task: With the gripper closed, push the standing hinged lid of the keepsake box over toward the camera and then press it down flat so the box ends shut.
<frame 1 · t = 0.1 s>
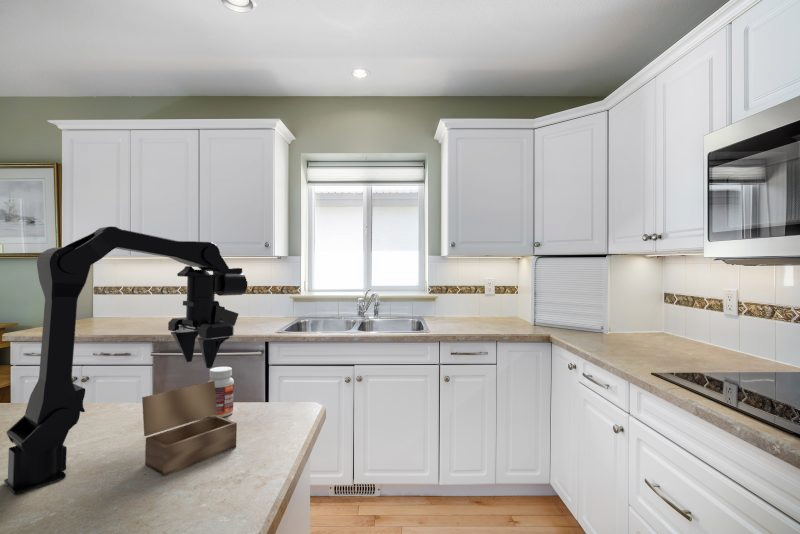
hand: (198, 364, 90), 14 cm above the countertop, fingers open, 9 cm apart
lid: (181, 406, 79), point 9 cm above the countertop, hinge at 100.0°
pill bottle: (219, 414, 99), on the countertop
box: (192, 455, 76), on the countertop
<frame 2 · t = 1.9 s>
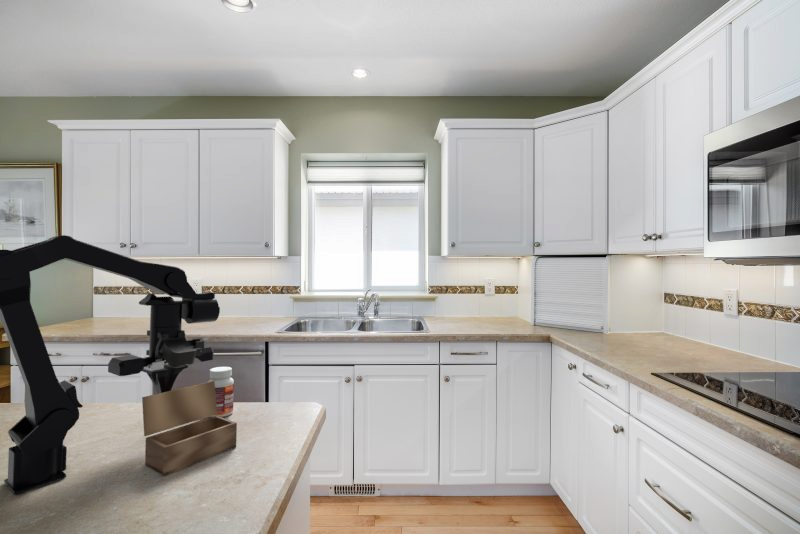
hand: (163, 400, 82), 9 cm above the countertop, fingers closed
nothing on the countertop moved.
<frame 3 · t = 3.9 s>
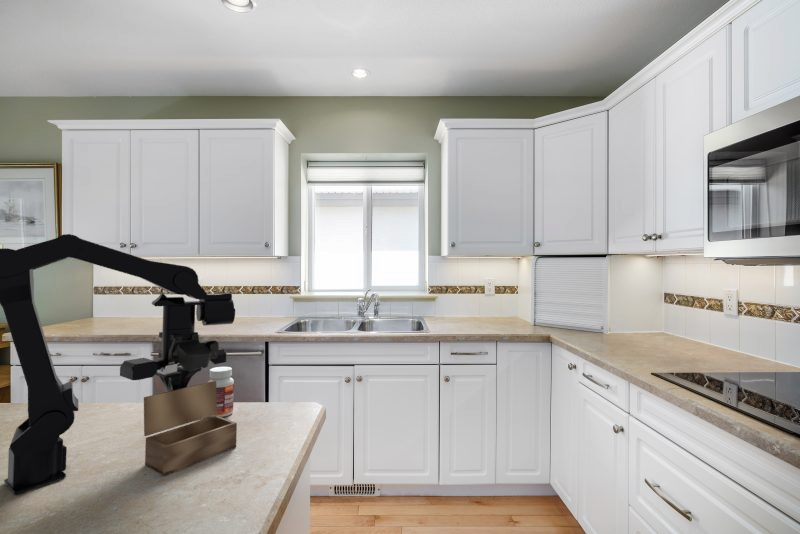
hand: (176, 403, 80), 9 cm above the countertop, fingers closed, pressing on lid
lid: (182, 406, 79), point 9 cm above the countertop, hinge at 94.8°, touching gripper
everything else where it was.
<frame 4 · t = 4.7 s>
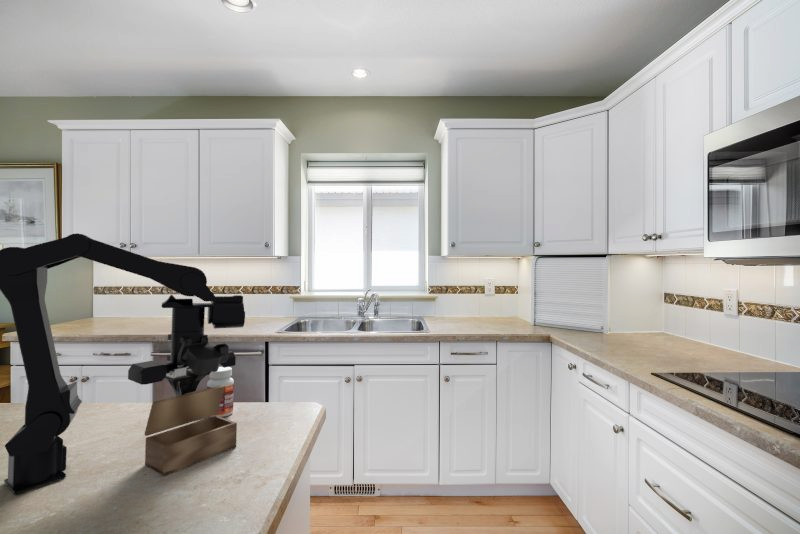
hand: (185, 407, 78), 9 cm above the countertop, fingers closed, pressing on lid
lid: (187, 408, 78), point 9 cm above the countertop, hinge at 66.7°, touching gripper
everything else where it was.
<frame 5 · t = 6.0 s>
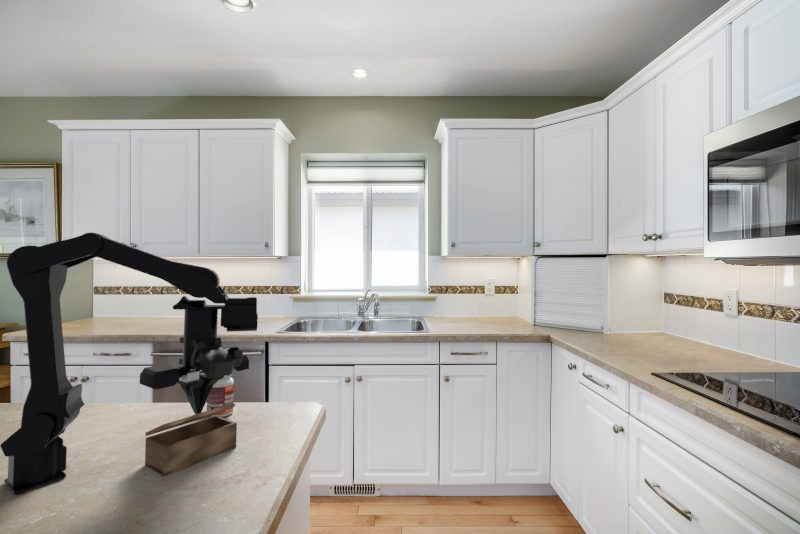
hand: (197, 413, 75), 9 cm above the countertop, fingers closed, pressing on lid
lid: (192, 418, 76), point 7 cm above the countertop, hinge at 25.0°, touching gripper
everything else where it was.
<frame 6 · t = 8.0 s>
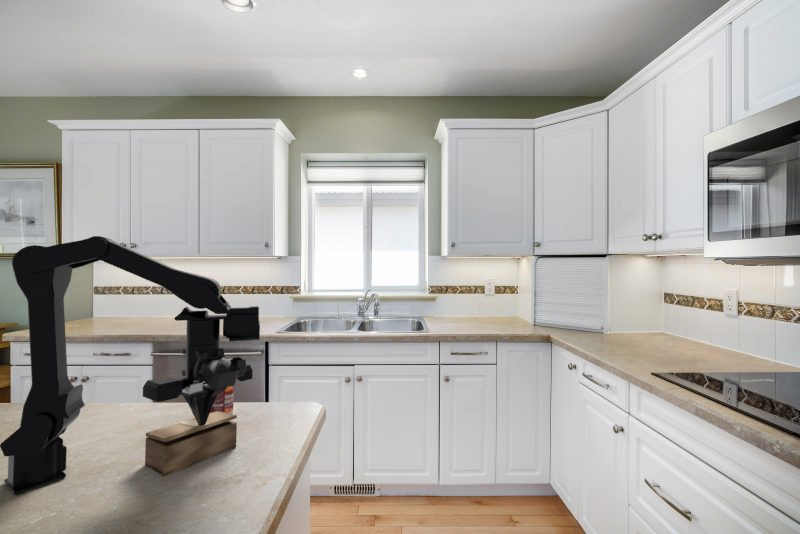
hand: (201, 425, 75), 7 cm above the countertop, fingers closed, pressing on lid
lid: (193, 424, 76), point 6 cm above the countertop, hinge at 5.3°, touching gripper
everything else where it was.
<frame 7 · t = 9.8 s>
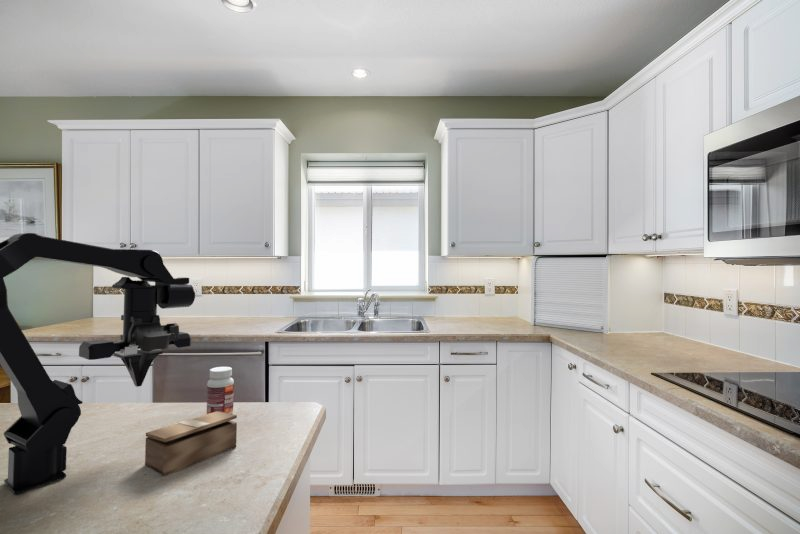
hand: (138, 386, 81), 12 cm above the countertop, fingers closed
lid: (193, 424, 76), point 6 cm above the countertop, hinge at 5.3°
everything else where it was.
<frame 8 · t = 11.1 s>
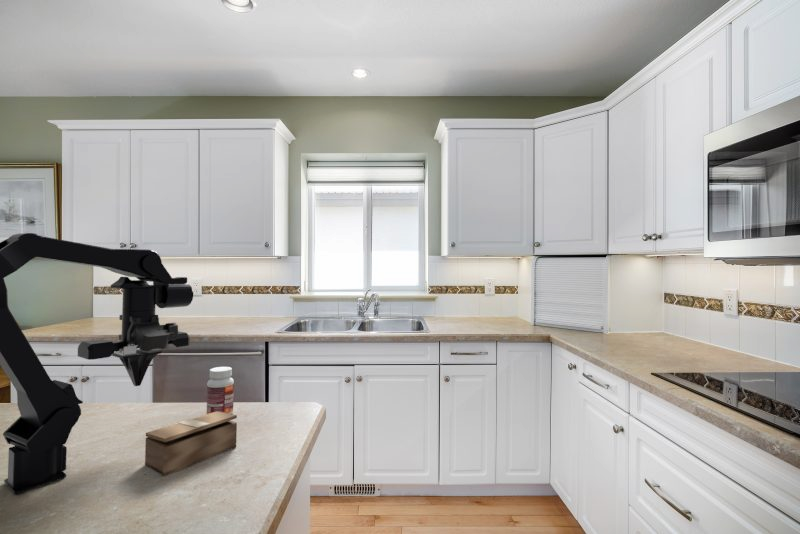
hand: (137, 385, 81), 12 cm above the countertop, fingers closed
nothing on the countertop moved.
at the end: lid at +5° (first picture: +100°) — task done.
